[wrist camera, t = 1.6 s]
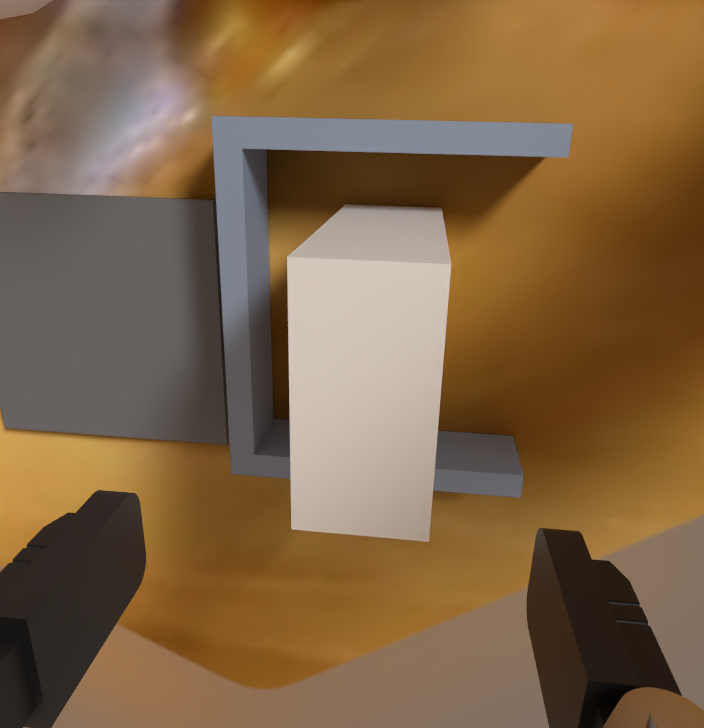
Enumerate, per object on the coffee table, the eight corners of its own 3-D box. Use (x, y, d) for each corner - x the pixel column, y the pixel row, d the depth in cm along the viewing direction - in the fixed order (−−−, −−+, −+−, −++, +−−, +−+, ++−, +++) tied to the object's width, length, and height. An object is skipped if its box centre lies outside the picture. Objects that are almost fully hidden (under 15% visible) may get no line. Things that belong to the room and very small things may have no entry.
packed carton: (441, 207, 29) (451, 264, 17) (428, 385, 32) (429, 541, 20) (345, 204, 29) (286, 257, 17) (342, 380, 32) (291, 529, 20)
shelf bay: (553, 124, 27) (573, 123, 23) (510, 456, 33) (520, 497, 29) (240, 117, 28) (211, 115, 25) (252, 436, 34) (231, 474, 30)
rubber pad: (217, 199, 30) (213, 200, 29) (230, 439, 34) (226, 444, 34) (-34, 190, 31) (-43, 192, 30) (11, 423, 36) (4, 427, 35)
